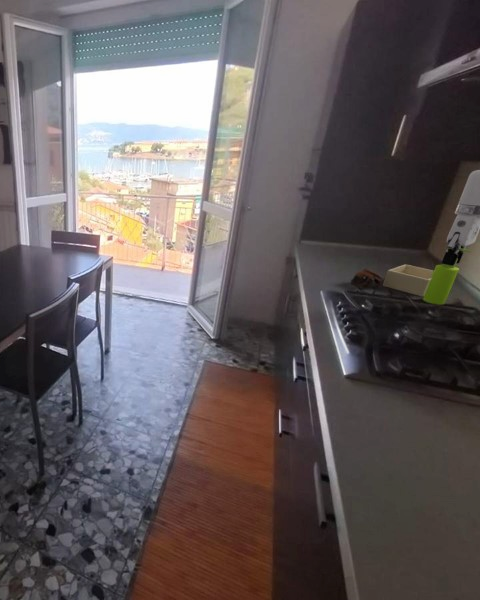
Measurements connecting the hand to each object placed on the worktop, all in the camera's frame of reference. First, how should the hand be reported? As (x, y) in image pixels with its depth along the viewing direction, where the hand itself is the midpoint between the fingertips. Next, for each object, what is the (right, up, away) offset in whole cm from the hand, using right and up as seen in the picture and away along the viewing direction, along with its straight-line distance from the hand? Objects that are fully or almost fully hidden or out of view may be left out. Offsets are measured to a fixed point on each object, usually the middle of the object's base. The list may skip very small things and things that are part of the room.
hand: (450, 263), depth 123 cm
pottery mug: (-8, -7, +28) cm, 30 cm away
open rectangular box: (+11, -7, +27) cm, 30 cm away
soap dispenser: (+1, -14, +6) cm, 15 cm away
